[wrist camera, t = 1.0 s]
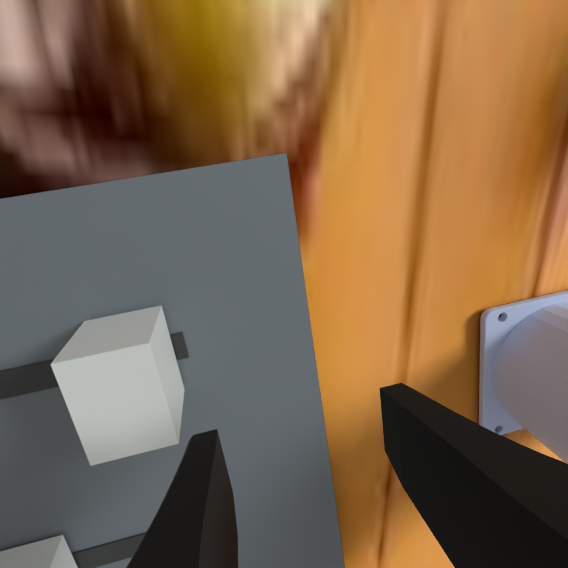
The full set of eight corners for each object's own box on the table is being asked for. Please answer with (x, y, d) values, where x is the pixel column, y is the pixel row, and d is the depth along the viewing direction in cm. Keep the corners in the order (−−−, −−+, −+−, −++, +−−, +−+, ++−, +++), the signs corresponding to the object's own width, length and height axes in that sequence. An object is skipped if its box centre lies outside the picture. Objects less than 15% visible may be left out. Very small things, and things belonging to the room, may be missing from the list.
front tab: (161, 305, 16) (149, 342, 12) (184, 389, 17) (178, 443, 14) (84, 321, 15) (50, 364, 12) (113, 405, 16) (90, 466, 13)
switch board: (281, 153, 16) (286, 153, 15) (341, 563, 24) (347, 582, 23) (-282, 243, 13) (-323, 251, 12) (-9, 671, 21) (-21, 698, 20)
